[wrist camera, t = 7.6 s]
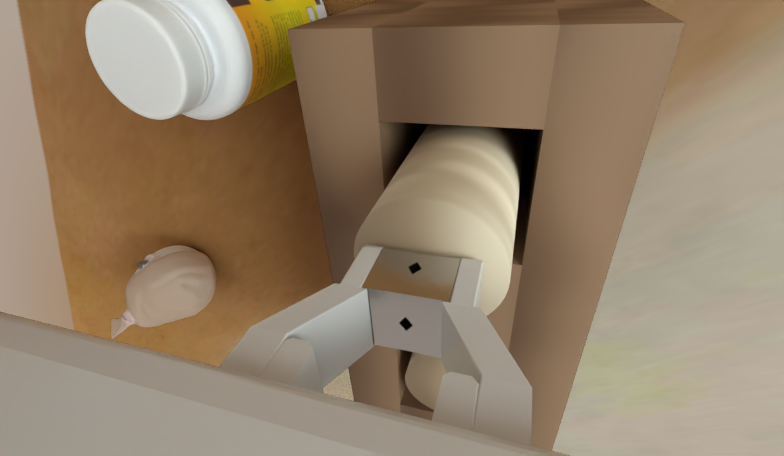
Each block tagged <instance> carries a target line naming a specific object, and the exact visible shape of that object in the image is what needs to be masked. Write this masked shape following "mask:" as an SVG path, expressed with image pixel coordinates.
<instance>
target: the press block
mask: <svg viewBox="0 0 784 456" xmlns="http://www.w3.org/2000/svg"><path fill="white" fill-rule="evenodd" d="M684 25H685V22H683V21H681V20H679V19H677V18H675V17H674V16H672V15H670V14H668V13H666V12H664V11H662V10H660V9H659V8H657V7H655V6H653V5H651V4H649V3H647V2H645V1H644V0H378V1H375V2H372V3H369V4H366V5H362V6H359V7H356V8H353V9H350V10H347V11H344V12H340V13H337V14H334V15H331V16H328V17H325V18H322V19H318V20H315V21H312V22H309V23H306V24H303V25H300V26H296V27H293V28H290V29H287V30H288V35H289V41H290V46H291V52H292V58H293V63H294V69H295V74H296V80H297V85H298V91H299V96H300V102H301V108H302V113H303V119H304V124H305V130H306V135H307V141H308V146H309V152H310V158H311V163H312V169H313V174H314V180H315V185H316V191H317V196H318V202H319V207H320V213H321V219H322V224H323V230H324V235H325V241H326V246H327V252H328V257H329V263H330V269H331V274H332V280H333V284H334V283H337V284H340V283H341V281H342V280H343V278H344V276H345V275H346V273H347V272H348V270H349V268H350V267H351V265H352V263H353V262H354V260H355V259H354V243H355V239H356V235H357V233H358V231H359V229H360V227H361V225H362V224H363V222H364V221H365V219H366V218H367V216H368V215H369V213H370V212H371V210H372V209H373V207H374V206H375V204H376V203H377V201H378V200H379V198H380V197H381V195H382V194H383V192H384V190H385V189H386V187H387V186H388V184H389V183H390V181H391V180H392V178H393V177H394V175H395V174H396V172H397V171H398V169H399V168H400V166H401V165H402V163H403V162H404V160H405V159H406V157H407V156H408V154H409V153H410V151H411V149H412V148H413V146H414V145H415V143H416V142H417V140H418V139H419V137H420V136H421V134H422V133H423V131H424V130H425V128H426V127H427V125H428V124H442V125H462V126H482V127H502V128H521V129H533V134H532V141H531V148H530V150H524V151H523V161H522V171H521V181H520V191H519V200H518V210H517V220H516V230H515V239H514V249H513V259H512V269H511V278H510V284H509V289H508V291H507V294H506V296H505V298H504V299H503V301H502V302H501V304H500V305H499V306H498V307H497V308H496V309H495V310H494V311H493V312H492V313H490V314H489V315H487V318H488V320H489V321H490V323H491V324H492V326H493V327H494V329H495V330H496V332H497V334H498V335H499V337H500V338H501V340H502V341H503V343H504V345H505V346H506V348H507V349H508V351H509V352H510V354H511V355H512V357H513V359H514V360H515V362H516V363H517V365H518V366H519V368H520V369H521V371H522V373H523V374H524V376H525V377H526V379H527V380H528V382H529V384H530V385H531V387H532V428H531V446H534V447H538V448H542V449H546V450H550V451H552V449H553V445H554V442H555V439H556V436H557V433H558V429H559V426H560V423H561V420H562V417H563V413H564V410H565V407H566V404H567V400H568V397H569V394H570V391H571V388H572V384H573V381H574V378H575V375H576V372H577V368H578V365H579V362H580V359H581V356H582V352H583V349H584V346H585V343H586V340H587V336H588V333H589V330H590V327H591V324H592V320H593V317H594V314H595V311H596V308H597V304H598V301H599V298H600V295H601V292H602V288H603V285H604V282H605V279H606V275H607V272H608V269H609V266H610V263H611V259H612V256H613V253H614V250H615V247H616V243H617V240H618V237H619V234H620V231H621V227H622V224H623V221H624V218H625V215H626V211H627V208H628V205H629V202H630V199H631V195H632V192H633V189H634V186H635V183H636V179H637V176H638V173H639V170H640V166H641V163H642V160H643V157H644V154H645V150H646V147H647V144H648V141H649V138H650V134H651V131H652V128H653V125H654V122H655V118H656V115H657V112H658V109H659V106H660V102H661V99H662V96H663V93H664V90H665V86H666V83H667V80H668V77H669V74H670V70H671V67H672V64H673V61H674V58H675V54H676V51H677V48H678V45H679V41H680V38H681V35H682V32H683V29H684ZM373 346H374V347H372V348H371V349H370V350H369V351H368V352H366V353H365V354H364V355H363V356H362V357H360V358H359V359H358V360H357V361H355V362H354V363H353V364H352V365H351V366H349V367H348V368H349V374H350V380H351V385H352V391H353V396H354V401H356V402H360V403H364V404H368V405H372V406H376V407H379V408H383V409H387V410H391V411H395V412H399V413H403V414H407V415H411V416H415V417H419V418H423V419H427V420H431V421H432V417H433V413H434V410H433V409H431V408H429V407H427V406H426V405H424V404H423V403H421V402H420V401H418V400H417V399H416V398H415V397H414V396H413V395H412V394H411V392H410V391H409V389H408V388H407V385H406V382H405V375H406V371H407V368H408V365H409V362H410V359H411V356H412V353H413V352H411V351H406V350H401V349H395V348H390V347H384V346H378V345H373Z"/></svg>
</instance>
